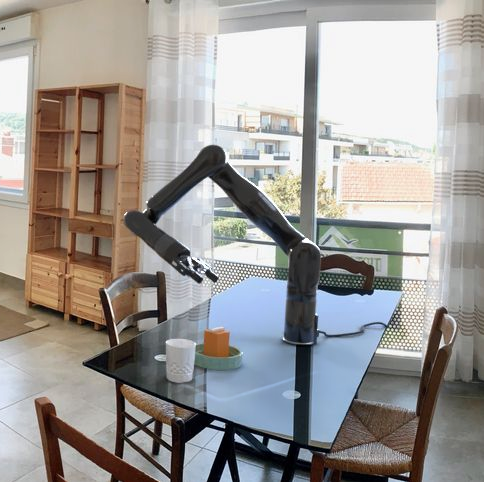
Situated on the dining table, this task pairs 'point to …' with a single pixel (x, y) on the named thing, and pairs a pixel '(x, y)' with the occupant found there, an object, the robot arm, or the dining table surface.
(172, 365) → the white cup
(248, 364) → the dining table surface
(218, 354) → the carton
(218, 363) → the bowl
